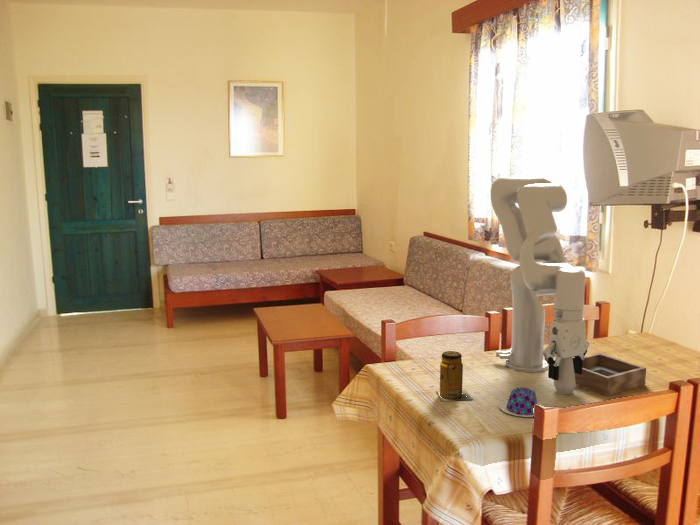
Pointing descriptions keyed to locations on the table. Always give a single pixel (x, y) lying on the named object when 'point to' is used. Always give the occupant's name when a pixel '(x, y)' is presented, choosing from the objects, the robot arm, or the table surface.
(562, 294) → the robot arm
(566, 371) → the salt shaker
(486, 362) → the table surface
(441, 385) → the condiment
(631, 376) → the bore box
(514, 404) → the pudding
